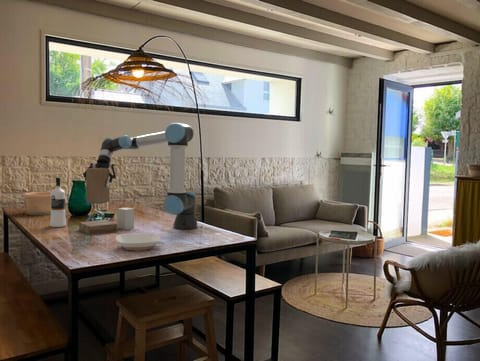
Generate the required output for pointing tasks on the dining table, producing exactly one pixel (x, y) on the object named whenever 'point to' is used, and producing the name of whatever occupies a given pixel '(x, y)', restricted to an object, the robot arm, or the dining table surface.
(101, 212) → the dining table surface
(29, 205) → the pottery
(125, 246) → the bowl
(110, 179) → the robot arm
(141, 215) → the dining table surface
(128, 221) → the white canister
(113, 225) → the plinth
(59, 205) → the vodka
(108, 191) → the block
